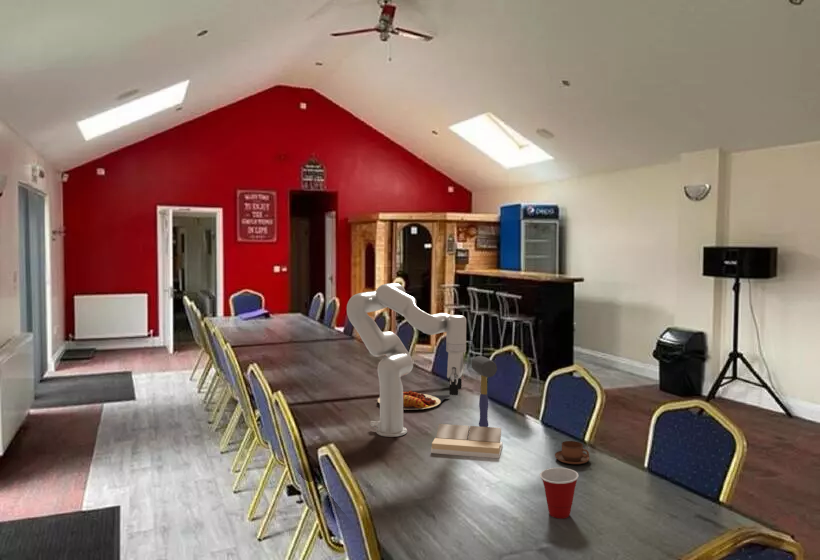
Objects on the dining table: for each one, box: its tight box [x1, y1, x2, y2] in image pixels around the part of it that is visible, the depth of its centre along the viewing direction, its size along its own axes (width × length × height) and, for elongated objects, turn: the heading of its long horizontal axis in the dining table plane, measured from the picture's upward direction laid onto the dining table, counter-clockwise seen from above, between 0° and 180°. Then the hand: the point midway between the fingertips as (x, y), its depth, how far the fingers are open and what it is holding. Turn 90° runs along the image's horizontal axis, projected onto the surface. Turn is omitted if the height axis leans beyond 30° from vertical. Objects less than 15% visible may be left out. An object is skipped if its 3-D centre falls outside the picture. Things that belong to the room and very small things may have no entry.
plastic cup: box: [539, 467, 579, 519], centre depth 178 cm, size 11×11×12 cm
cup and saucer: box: [554, 440, 590, 465], centre depth 221 cm, size 12×12×6 cm
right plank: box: [468, 425, 502, 443], centre depth 235 cm, size 12×7×2 cm
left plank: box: [435, 423, 470, 440], centre depth 238 cm, size 12×7×2 cm
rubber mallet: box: [470, 355, 498, 427], centre depth 259 cm, size 12×8×30 cm, turn 16°
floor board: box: [430, 437, 503, 459], centre depth 234 cm, size 25×14×4 cm, turn 77°
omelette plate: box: [377, 390, 451, 411], centre depth 301 cm, size 31×35×7 cm
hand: (455, 391), depth 239 cm, fingers open, 9 cm apart
